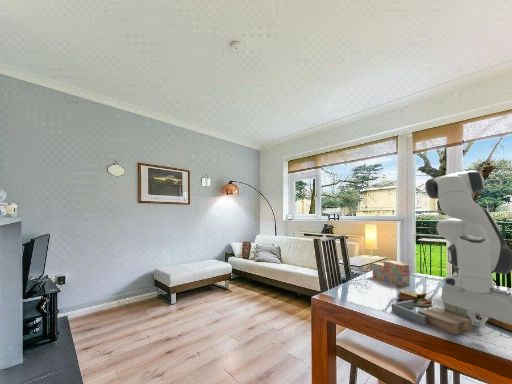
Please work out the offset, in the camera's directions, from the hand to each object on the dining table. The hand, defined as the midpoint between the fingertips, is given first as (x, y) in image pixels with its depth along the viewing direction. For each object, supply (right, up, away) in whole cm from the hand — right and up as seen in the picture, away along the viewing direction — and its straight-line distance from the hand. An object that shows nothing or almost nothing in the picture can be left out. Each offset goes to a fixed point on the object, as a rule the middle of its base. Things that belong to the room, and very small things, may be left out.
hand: (478, 326), depth 81 cm
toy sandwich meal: (0, -7, +33) cm, 34 cm away
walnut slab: (-4, -6, +10) cm, 12 cm away
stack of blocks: (+8, -10, +68) cm, 69 cm away
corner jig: (-8, -6, +19) cm, 21 cm away
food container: (+7, -6, +14) cm, 16 cm away
